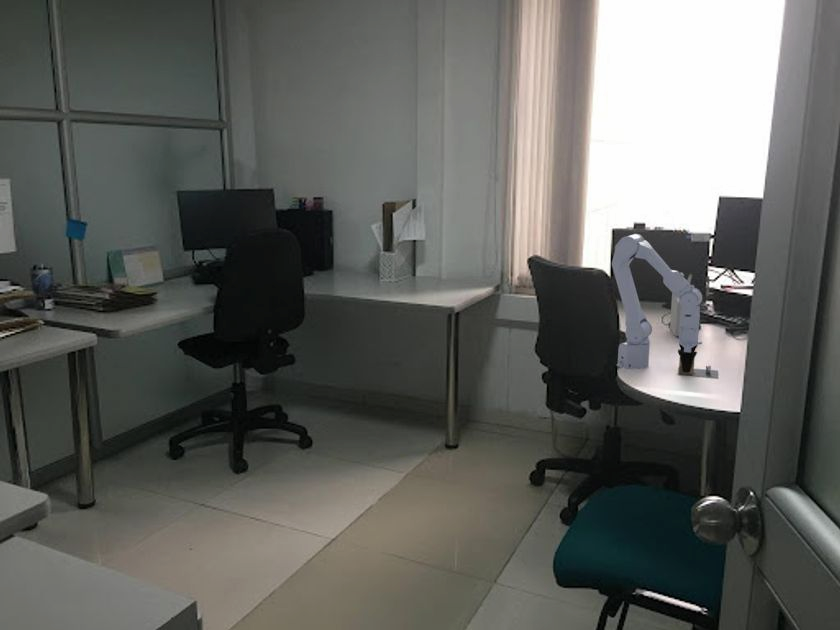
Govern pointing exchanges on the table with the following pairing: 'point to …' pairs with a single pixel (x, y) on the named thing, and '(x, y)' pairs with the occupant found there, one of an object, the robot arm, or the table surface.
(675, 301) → the fuel canister
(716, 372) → the pin plate
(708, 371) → the steel pin
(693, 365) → the hollow block
